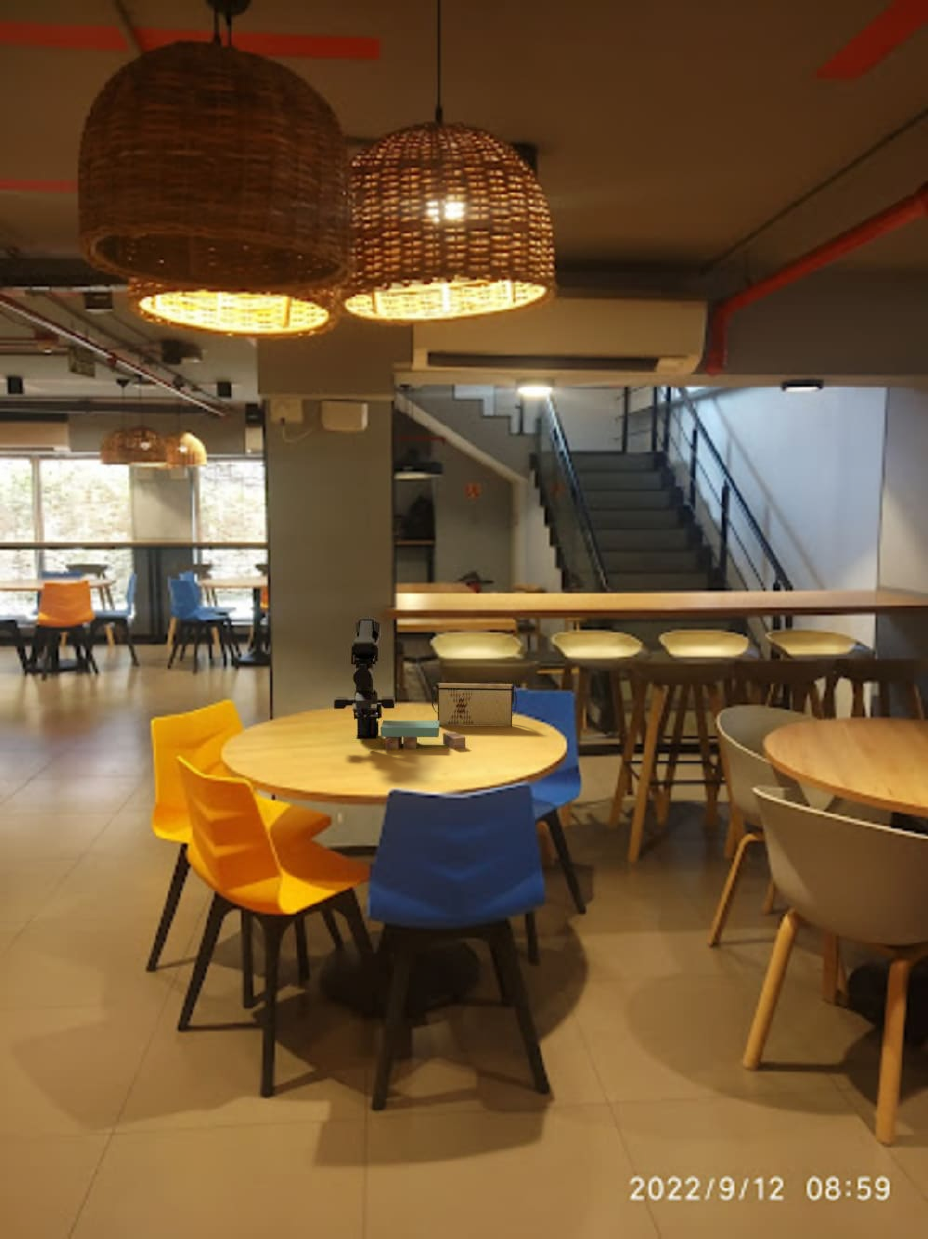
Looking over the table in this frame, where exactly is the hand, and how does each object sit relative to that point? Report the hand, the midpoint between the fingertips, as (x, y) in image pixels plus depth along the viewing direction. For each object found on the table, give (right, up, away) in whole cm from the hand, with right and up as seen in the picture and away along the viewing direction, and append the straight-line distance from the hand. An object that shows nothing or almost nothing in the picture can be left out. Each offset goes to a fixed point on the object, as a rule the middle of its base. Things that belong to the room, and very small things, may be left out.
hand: (364, 729), depth 280 cm
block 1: (+9, -6, +1) cm, 11 cm away
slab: (+14, -2, +2) cm, 14 cm away
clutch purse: (+35, -2, +30) cm, 46 cm away
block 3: (+28, -6, +2) cm, 29 cm away
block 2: (+14, -6, +2) cm, 15 cm away
